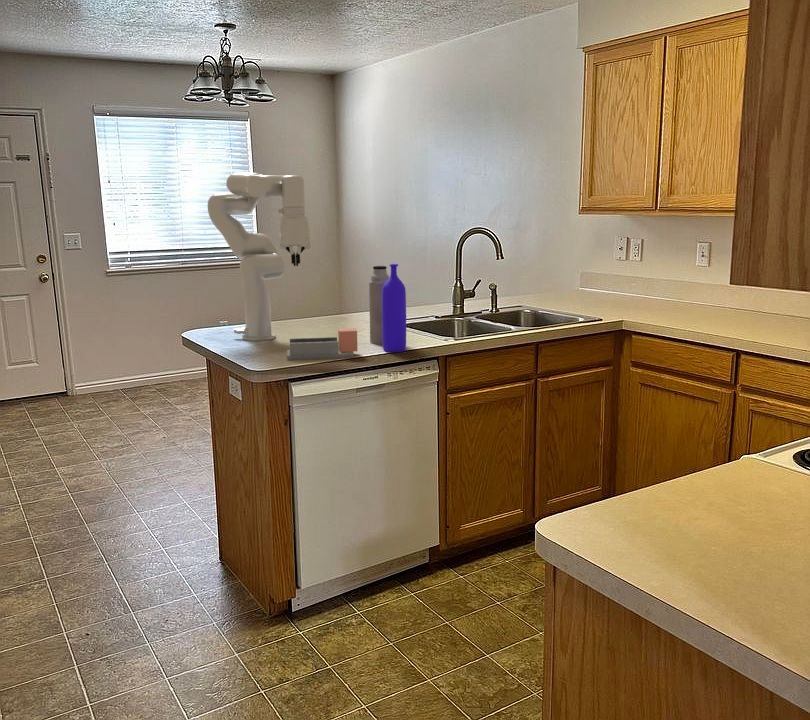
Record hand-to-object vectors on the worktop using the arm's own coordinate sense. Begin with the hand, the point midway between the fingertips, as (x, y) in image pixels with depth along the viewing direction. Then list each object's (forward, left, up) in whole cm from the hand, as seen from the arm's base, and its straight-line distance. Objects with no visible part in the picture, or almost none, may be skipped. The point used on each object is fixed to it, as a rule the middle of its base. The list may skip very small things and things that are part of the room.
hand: (295, 265), depth 261 cm
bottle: (+33, -12, -29) cm, 46 cm away
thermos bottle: (+30, +4, -29) cm, 42 cm away
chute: (+7, -17, -29) cm, 34 cm away
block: (+16, -17, -27) cm, 36 cm away
